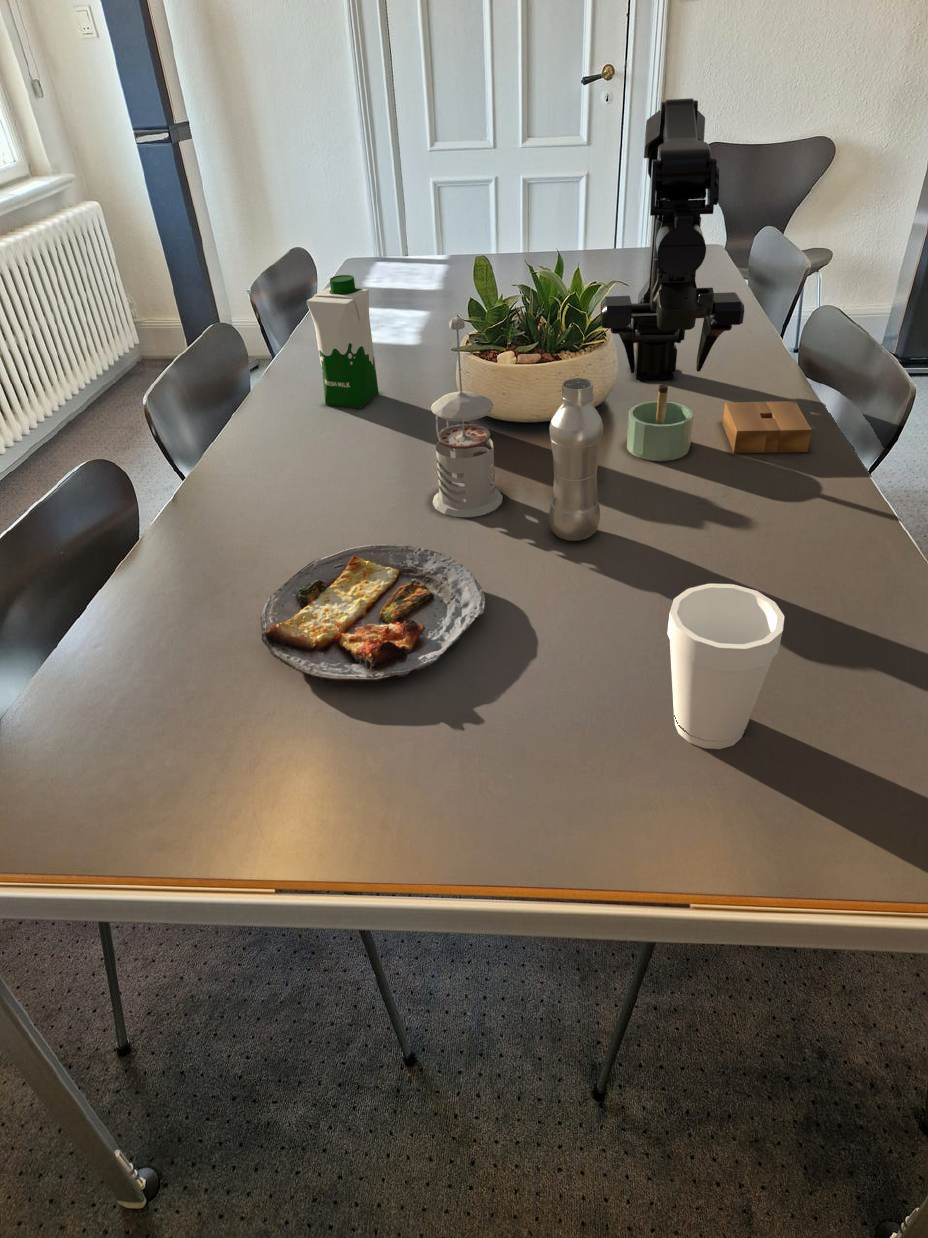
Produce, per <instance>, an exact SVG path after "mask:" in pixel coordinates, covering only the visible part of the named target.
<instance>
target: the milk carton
mask: <svg viewBox="0 0 928 1238" xmlns="http://www.w3.org/2000/svg"><path fill="white" fill-rule="evenodd" d="M329 286H330V287H327V288H326V289H324V290H321V291H320V292H318V293H315V294H314V295H313V297H311V298H308V299H307V300H306V304H307V307H308V310H309V313H310V316H311V318H312V322H313V325H314V329H315V336H316V343H317V348H318V355H319V362H320V368H321V375H322V383H323V384H322V385H323V393H324V405H325V406H332V407H341V408H349V409H350V408H351V409H359V410H360V409H362V408H364V406H365V405H367V404H368V403H369V402H371V401H372V400H373V399H374V398H375V397H376V396H378V395H379V384H378V375H377V369H376V360H375V352H374V345H373V343H374V342H373V336H372V335H373V334H372V326H371V318H370V293H369V291H370V290H369V289H367V288H366V289H363V288H362V287H361V288H358V287H356V282H355V277H354V275H350V274H341V275H339V274H338V275H334V276H332V277H330V278H329Z"/></svg>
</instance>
